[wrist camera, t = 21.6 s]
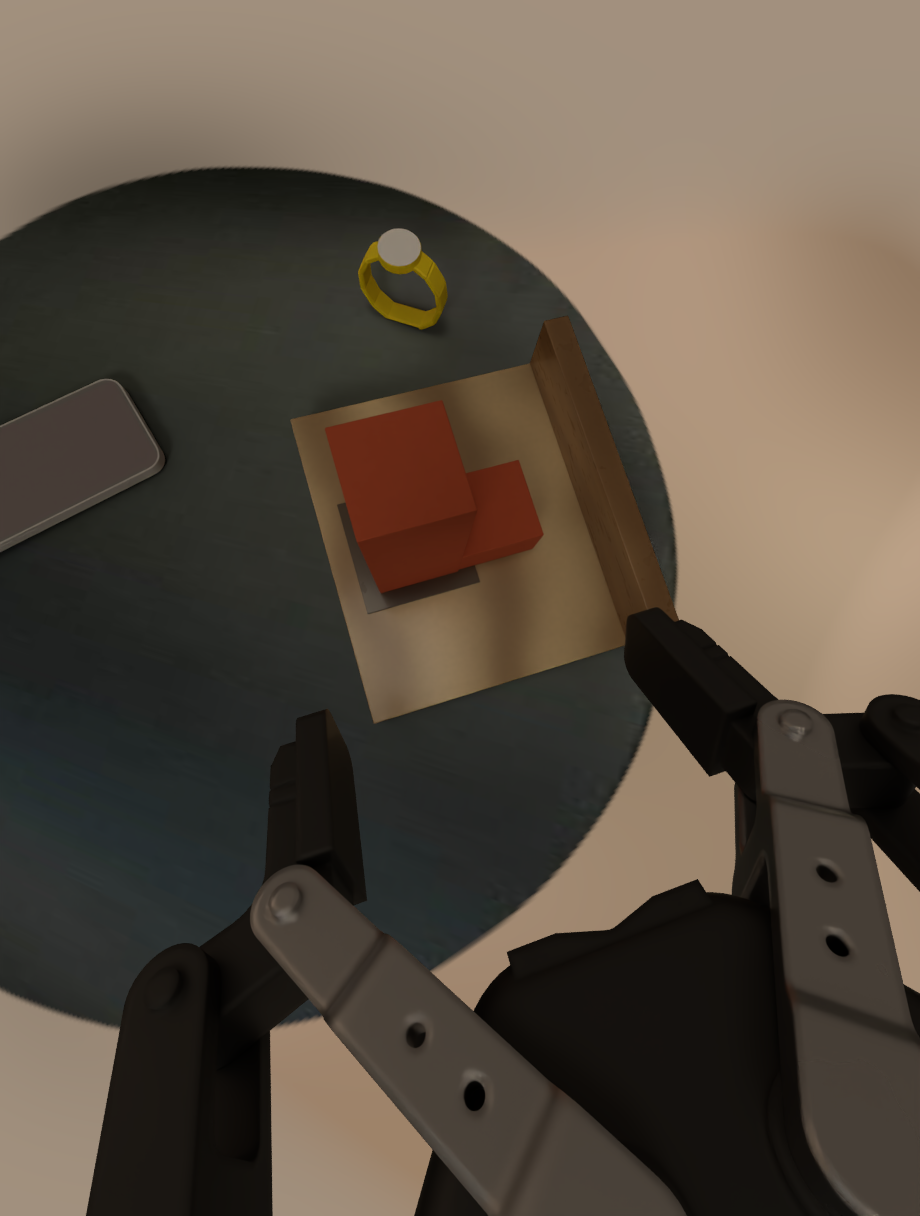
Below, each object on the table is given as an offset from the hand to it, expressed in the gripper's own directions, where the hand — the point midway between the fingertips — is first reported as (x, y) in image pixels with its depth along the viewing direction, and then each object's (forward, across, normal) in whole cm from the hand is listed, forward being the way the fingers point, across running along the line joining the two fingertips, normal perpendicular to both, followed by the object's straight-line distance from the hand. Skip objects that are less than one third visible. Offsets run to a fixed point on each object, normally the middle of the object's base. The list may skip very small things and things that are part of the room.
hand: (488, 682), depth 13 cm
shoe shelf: (+21, +4, -8) cm, 23 cm away
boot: (+18, +2, -6) cm, 19 cm away
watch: (+33, +5, +4) cm, 34 cm away
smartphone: (+29, -22, 0) cm, 37 cm away
